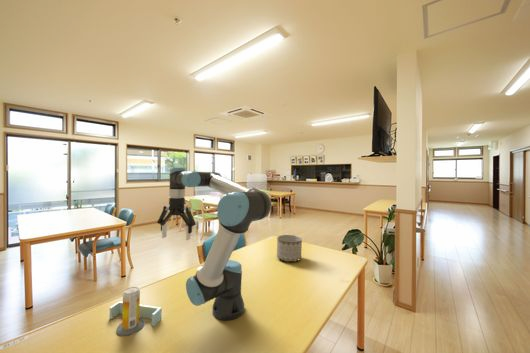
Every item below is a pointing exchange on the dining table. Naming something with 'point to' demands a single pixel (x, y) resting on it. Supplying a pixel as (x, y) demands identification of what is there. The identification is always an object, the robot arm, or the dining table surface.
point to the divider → (144, 312)
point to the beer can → (130, 308)
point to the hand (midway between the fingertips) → (176, 238)
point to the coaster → (123, 332)
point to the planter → (289, 247)
